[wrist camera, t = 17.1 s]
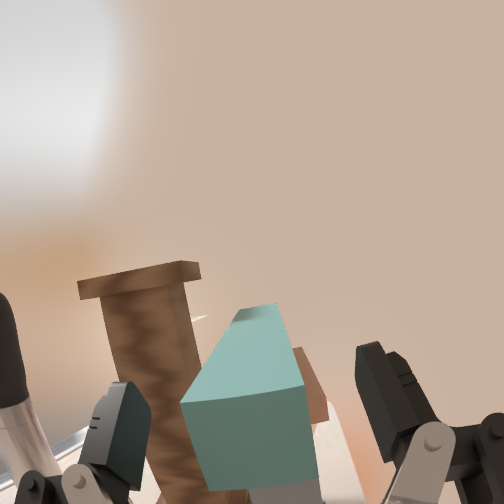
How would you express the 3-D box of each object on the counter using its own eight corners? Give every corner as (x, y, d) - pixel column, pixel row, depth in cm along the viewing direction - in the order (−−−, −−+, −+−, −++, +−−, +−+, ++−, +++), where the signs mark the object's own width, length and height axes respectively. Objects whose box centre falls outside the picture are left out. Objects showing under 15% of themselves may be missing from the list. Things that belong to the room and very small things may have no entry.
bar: (209, 491, 9) (179, 402, 9) (246, 345, 33) (239, 309, 33) (319, 477, 8) (304, 384, 9) (283, 338, 32) (276, 302, 33)
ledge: (267, 587, 14) (203, 417, 16) (267, 516, 26) (227, 360, 28) (342, 575, 14) (326, 397, 16) (325, 506, 26) (301, 346, 28)
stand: (156, 517, 27) (77, 281, 29) (171, 486, 35) (110, 279, 37) (247, 518, 26) (180, 260, 28) (250, 482, 34) (198, 262, 36)
